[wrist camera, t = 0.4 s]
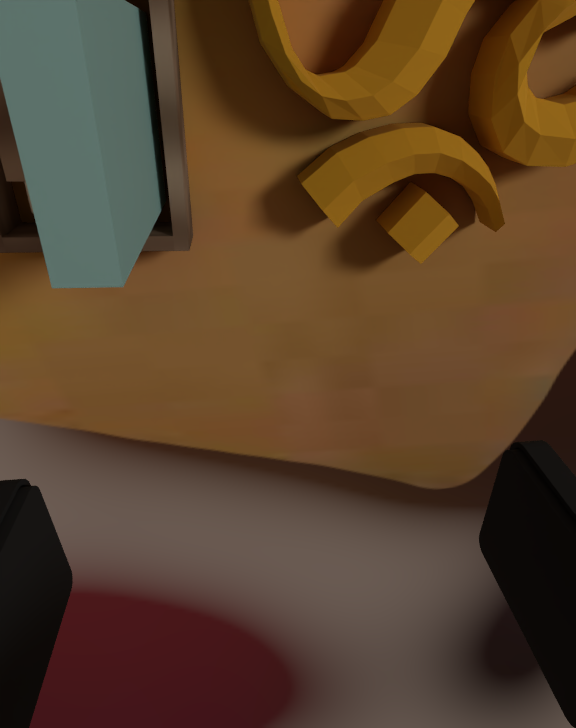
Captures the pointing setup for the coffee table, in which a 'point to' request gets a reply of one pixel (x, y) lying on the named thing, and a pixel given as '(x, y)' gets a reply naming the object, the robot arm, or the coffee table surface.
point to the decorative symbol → (418, 140)
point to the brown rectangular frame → (3, 220)
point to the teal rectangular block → (84, 132)
